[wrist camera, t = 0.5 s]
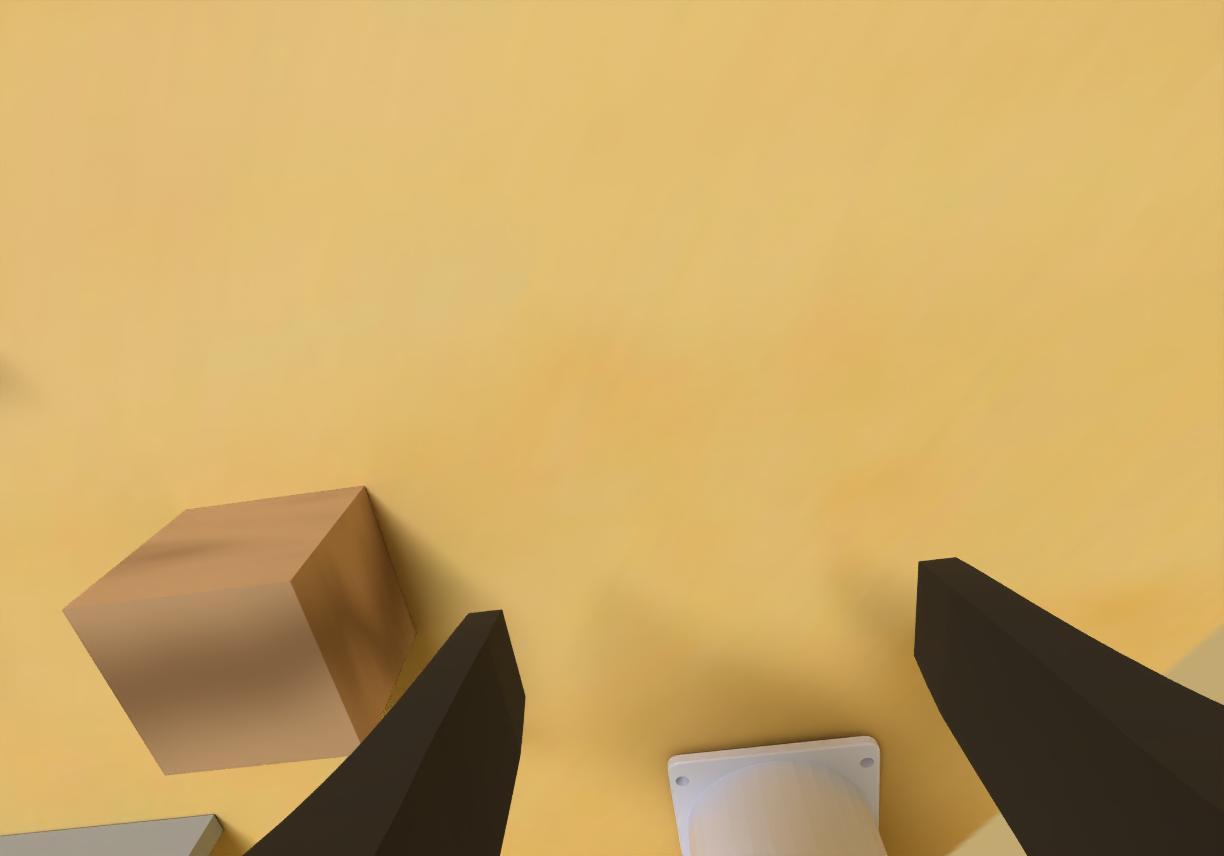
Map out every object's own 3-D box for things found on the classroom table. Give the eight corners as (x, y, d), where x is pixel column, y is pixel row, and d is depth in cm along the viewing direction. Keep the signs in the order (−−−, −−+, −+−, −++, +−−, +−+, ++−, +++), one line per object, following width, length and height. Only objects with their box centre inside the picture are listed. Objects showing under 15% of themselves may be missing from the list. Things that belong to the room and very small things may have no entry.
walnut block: (417, 630, 22) (365, 754, 18) (257, 650, 22) (165, 775, 18) (366, 483, 20) (289, 581, 15) (188, 507, 20) (62, 609, 16)
